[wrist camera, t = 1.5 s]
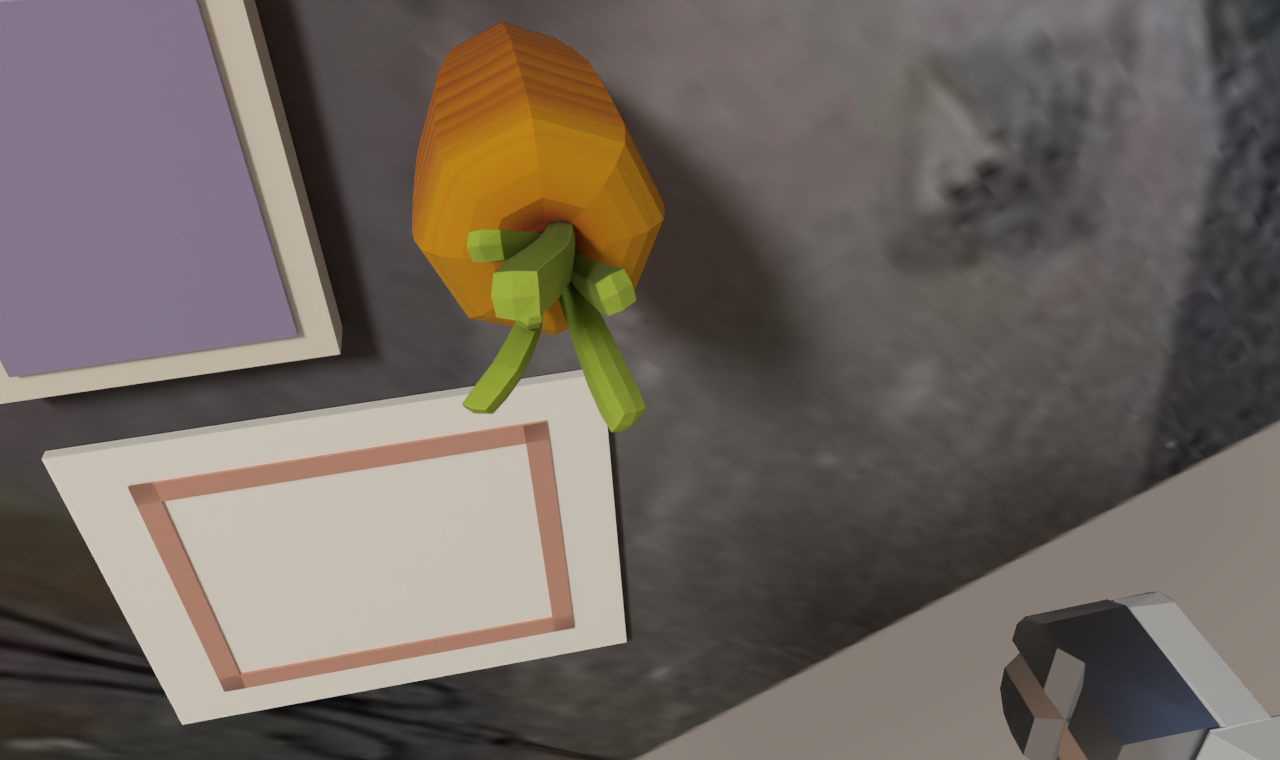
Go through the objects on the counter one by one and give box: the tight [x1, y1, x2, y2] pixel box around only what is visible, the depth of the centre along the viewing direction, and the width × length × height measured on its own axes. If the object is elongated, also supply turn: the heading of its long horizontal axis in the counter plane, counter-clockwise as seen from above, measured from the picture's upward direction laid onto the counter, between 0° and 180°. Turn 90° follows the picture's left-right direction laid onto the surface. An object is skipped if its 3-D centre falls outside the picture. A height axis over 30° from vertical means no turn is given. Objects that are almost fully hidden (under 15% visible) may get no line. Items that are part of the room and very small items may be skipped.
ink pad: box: [0, 0, 343, 404], centre depth 27 cm, size 10×12×2 cm
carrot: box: [412, 22, 665, 432], centre depth 22 cm, size 5×5×15 cm
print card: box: [42, 370, 627, 725], centre depth 38 cm, size 18×14×1 cm
